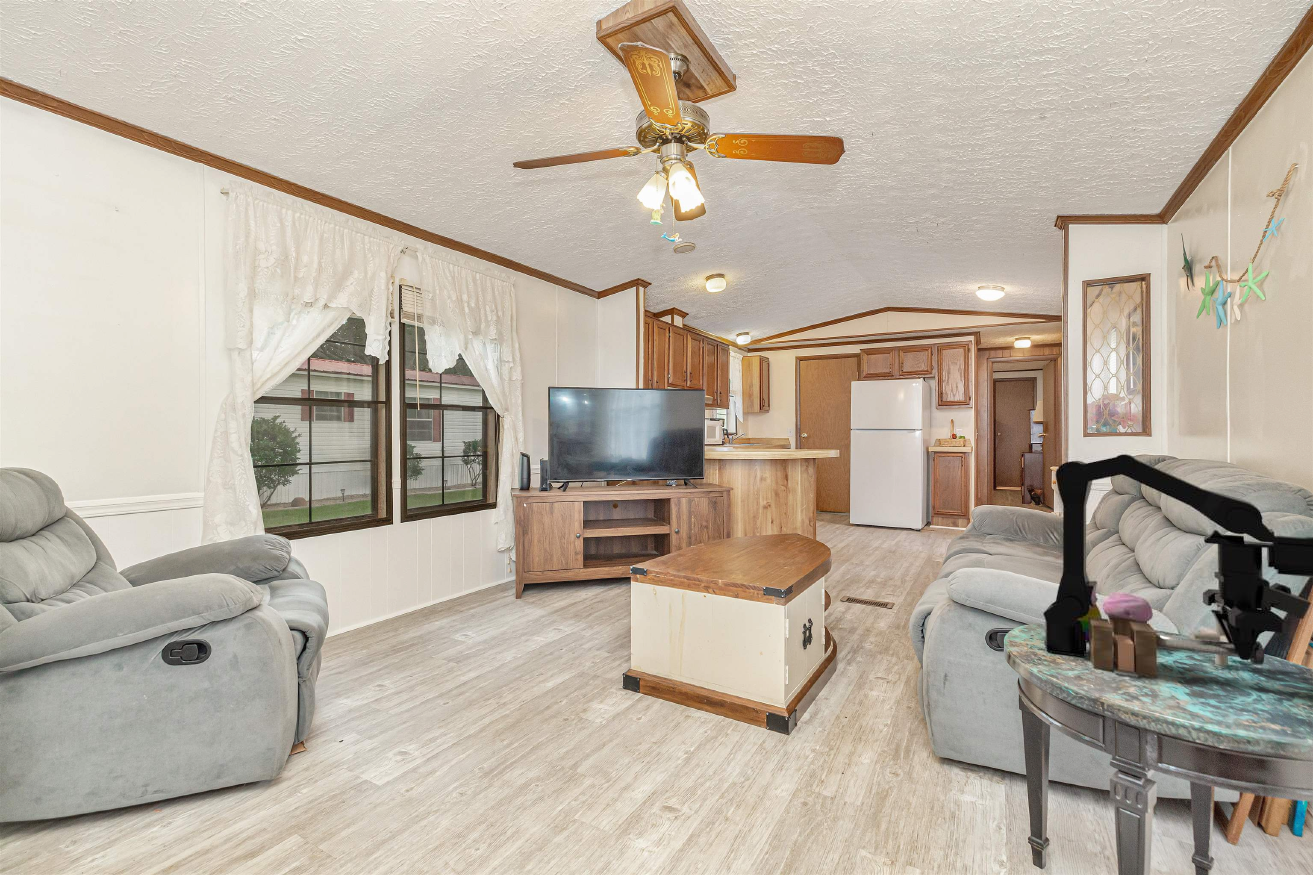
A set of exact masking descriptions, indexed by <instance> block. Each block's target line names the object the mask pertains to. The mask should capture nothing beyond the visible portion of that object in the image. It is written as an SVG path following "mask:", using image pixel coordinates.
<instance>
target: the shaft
mask: <svg viewBox="0 0 1313 875" xmlns="http://www.w3.org/2000/svg"><path fill="white" fill-rule="evenodd" d="M1156 647H1157V648H1159V649H1168V650H1177V651H1185V652H1191V653H1201V654H1208V655H1209V654H1210V655H1215V654H1216V655H1224V656H1228V657H1233V658H1240V657H1239V655H1238V653H1237V651H1236V649H1235V647H1234V645H1233V643H1230V642H1221V641H1212V640H1204V639H1195V638H1189V637H1187V636H1186V637H1185V636H1178V635H1177V636H1176V635H1170V634H1169V635H1167V634H1162V633H1161V634H1160V633H1156ZM1249 661H1250V663H1251V664H1253V665H1258V666H1259V665H1260V666H1263V664H1264V662H1265V652H1264V646H1263V645H1262V643H1261V642H1260V641H1259V640H1257V641H1256V643H1255V646H1254V648H1253V651H1252V653H1251V656H1250V659H1249Z"/></svg>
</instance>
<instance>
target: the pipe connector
mask: <svg viewBox="0 0 1313 875" xmlns="http://www.w3.org/2000/svg"><path fill="white" fill-rule="evenodd" d="M1213 617H1214V616H1213ZM1213 619H1214V629H1213V628H1209V627H1207V626H1204V625H1202V626H1199V627H1198V630H1197V631H1198V632H1197V631H1196V632H1195V631H1190V632H1188V638H1195V639H1204V640H1212V641H1221V642H1228V641H1227V639H1226V637H1225V635H1224V633H1223V631H1222V629H1221V628H1220V626H1219V624H1218V622H1217V620H1216V619H1215V617H1214V618H1213ZM1214 658H1215V659H1214V660H1215V662H1214V663H1215V664H1216V665H1218V666H1223V667H1228V666H1229V656H1224V655H1216V654H1214Z"/></svg>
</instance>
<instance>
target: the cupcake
mask: <svg viewBox="0 0 1313 875" xmlns="http://www.w3.org/2000/svg"><path fill="white" fill-rule="evenodd" d="M1102 610H1103V612H1104V614H1105V615H1106V616H1107V619H1108V621H1109V623H1110V624H1111V626H1112V627H1113V634H1114V635H1123V636H1129V638H1130V633H1129V622H1138V623H1147V624H1148V622H1149V621H1150V620H1152V619H1153V617H1154V616H1153V615H1154V614H1153V609H1152V606H1151V605H1150V603H1149V601H1147V599H1145V598H1144V597H1140V596H1137V595H1133V594H1128V593H1126V592H1125V593H1124V592H1122V593H1121V592H1120V593H1119V592H1113V593H1110V595H1109V596H1108V597H1107V598H1106V599H1105V600H1104V601H1103V602H1102Z"/></svg>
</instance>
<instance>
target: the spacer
mask: <svg viewBox="0 0 1313 875" xmlns="http://www.w3.org/2000/svg"><path fill="white" fill-rule="evenodd" d="M1113 660H1114V662H1115V664H1116V666H1117V668H1118V669H1119V670H1126V671H1133V672H1134V644H1133V642H1132V641H1131V639H1130V638H1129V636H1123V635H1114V634H1113Z"/></svg>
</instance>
